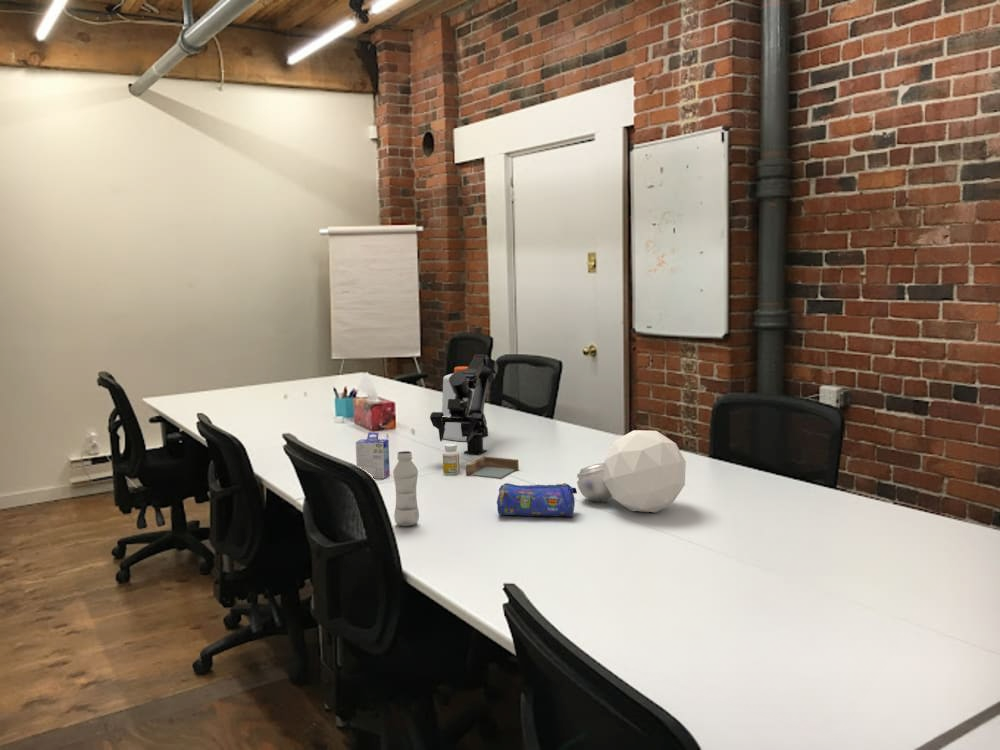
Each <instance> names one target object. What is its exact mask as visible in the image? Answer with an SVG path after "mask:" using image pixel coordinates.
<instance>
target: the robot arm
mask: <svg viewBox="0 0 1000 750" xmlns="http://www.w3.org/2000/svg"><path fill="white" fill-rule="evenodd" d="M467 367H468V368H467V369H466V370H457V371H456V373H454V372H453V373H454V374H453V373H451V374H452V375H451V376H450V377H449V383H450V385H451V388H452V390H453V393H455V394H456V395H455V399H448V407H447V409H449V414H451V416H444V415H443V412H442V411H433V412H431V413H430V416H429V420H430V421H431V423H432V424H431V425H432V427H434V428H436V429H437V430H438V435H439V441H440V442H443V440H444V439H443V436H444V431H445V427H444V426H445V423H446V422H457V423H461V431H462V437H464V436H465V437H467V439H466V441H467V442H466V447H467V450H465V451H463V454H467V455H482V454H483V453H486V452H487V451H488V450H487V449H485V448H484V438H487V437H488V436H489V429H488V425H487V424H488V423H487V418H486V415H485V413H484V414H483V409H484V410H485V403H486V399H487V396H488V395H487V394H488V389H489V385H490V384H491V383H492V382H493V381H494V380H495V378H496V375H497V374H498V371H499V366H498V363H497V362H496V360H494V359H492V358H490V357H489V356H488V355H486V354H474V355H473V358H472V361H471V362H470V363H469V365H468V366H467ZM470 389H475V391H474V396H473V400H472V394H473V393H472V391H471V390H470ZM471 400H472V404H471ZM470 404H471V408H470Z"/></svg>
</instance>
